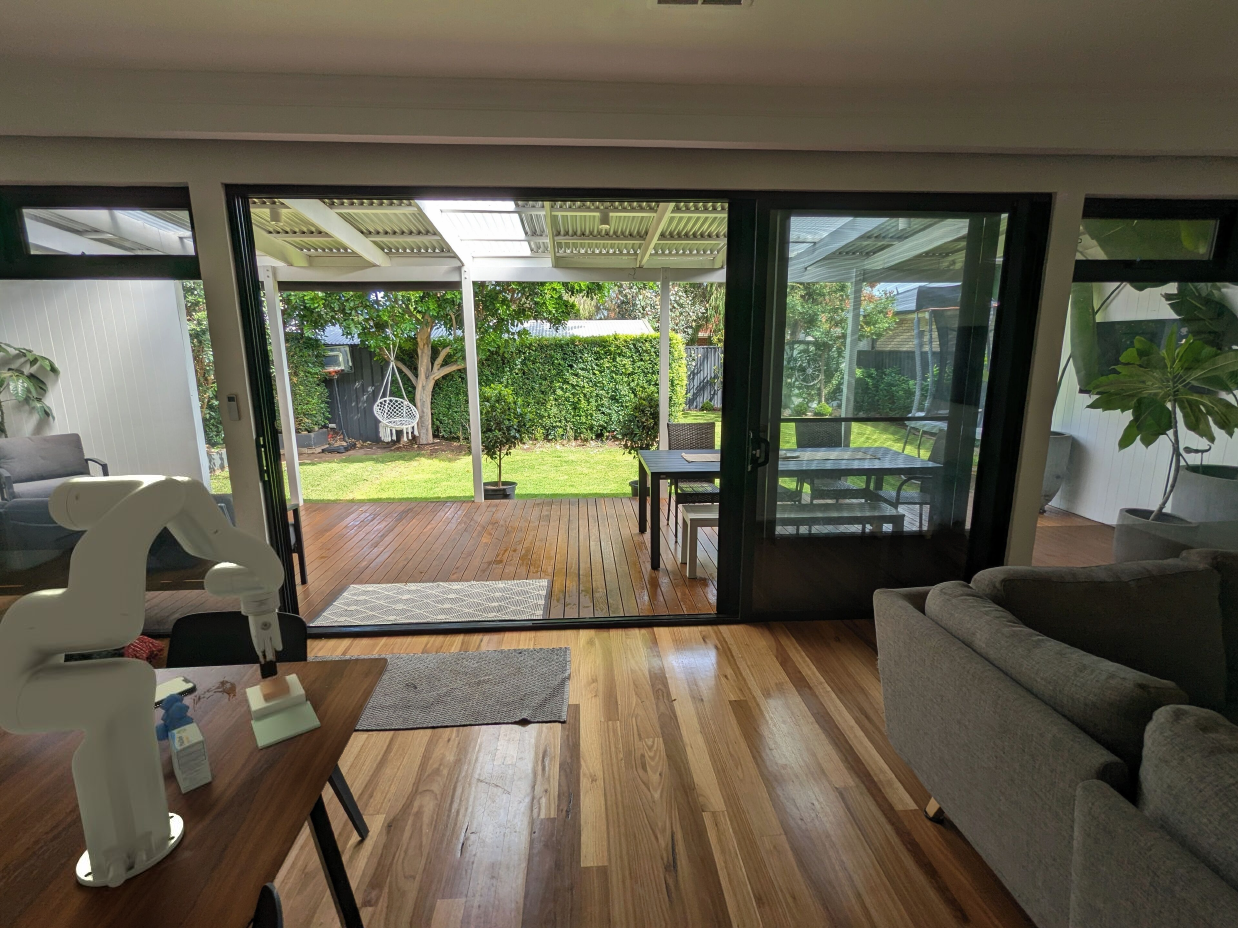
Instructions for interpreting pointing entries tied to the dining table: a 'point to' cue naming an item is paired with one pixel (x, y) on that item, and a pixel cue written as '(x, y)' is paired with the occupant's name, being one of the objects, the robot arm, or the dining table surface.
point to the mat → (284, 724)
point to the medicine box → (189, 757)
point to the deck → (275, 699)
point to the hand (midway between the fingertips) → (269, 675)
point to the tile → (274, 688)
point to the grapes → (172, 716)
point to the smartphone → (173, 688)
